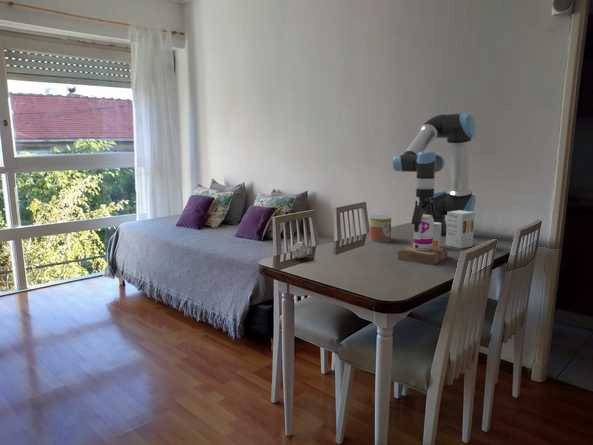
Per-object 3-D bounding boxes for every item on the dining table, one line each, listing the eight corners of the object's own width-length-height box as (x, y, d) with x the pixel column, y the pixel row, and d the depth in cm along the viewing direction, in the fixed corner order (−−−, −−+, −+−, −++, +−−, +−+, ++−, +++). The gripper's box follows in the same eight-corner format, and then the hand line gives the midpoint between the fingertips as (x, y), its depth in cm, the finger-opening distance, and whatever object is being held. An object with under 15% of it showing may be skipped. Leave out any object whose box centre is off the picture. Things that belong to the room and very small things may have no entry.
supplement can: (429, 252, 194) (430, 217, 191) (410, 250, 198) (411, 216, 195) (434, 248, 200) (436, 214, 198) (416, 246, 205) (417, 213, 202)
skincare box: (426, 247, 219) (427, 223, 217) (428, 245, 222) (428, 221, 220) (439, 248, 216) (440, 224, 214) (440, 246, 220) (441, 222, 217)
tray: (413, 251, 211) (413, 243, 210) (447, 256, 201) (447, 248, 200) (397, 259, 199) (398, 250, 198) (433, 264, 189) (433, 255, 188)
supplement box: (460, 248, 215) (462, 213, 212) (445, 245, 223) (446, 211, 220) (473, 246, 220) (475, 211, 217) (457, 242, 228) (459, 209, 225)
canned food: (381, 243, 229) (381, 219, 227) (364, 239, 238) (364, 217, 236) (395, 239, 236) (396, 217, 234) (378, 236, 245) (379, 214, 243)
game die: (299, 265, 205) (302, 245, 210) (311, 262, 199) (314, 241, 203) (284, 258, 200) (287, 238, 205) (296, 255, 194) (300, 234, 199)
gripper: (428, 184, 206) (426, 230, 210) (404, 190, 187) (402, 240, 191) (444, 185, 201) (442, 232, 205) (421, 191, 182) (419, 242, 186)
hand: (423, 236), depth 198 cm, fingers open, 13 cm apart
